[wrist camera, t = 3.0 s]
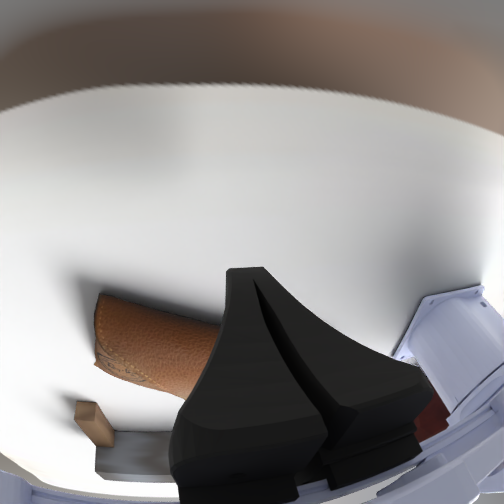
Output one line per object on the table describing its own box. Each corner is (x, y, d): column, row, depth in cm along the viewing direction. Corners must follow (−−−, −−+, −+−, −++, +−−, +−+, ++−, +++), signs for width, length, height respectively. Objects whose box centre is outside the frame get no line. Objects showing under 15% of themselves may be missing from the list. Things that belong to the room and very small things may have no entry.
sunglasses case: (87, 369, 19) (77, 414, 13) (104, 281, 20) (93, 298, 14) (290, 399, 26) (331, 433, 20) (312, 329, 27) (361, 351, 21)
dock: (362, 376, 27) (383, 416, 23) (337, 418, 31) (351, 452, 27) (76, 401, 21) (70, 448, 17) (105, 441, 26) (104, 479, 22)
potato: (368, 424, 36) (395, 483, 27) (413, 366, 29) (456, 437, 20) (423, 404, 38) (450, 454, 29) (467, 348, 31) (507, 403, 23)
